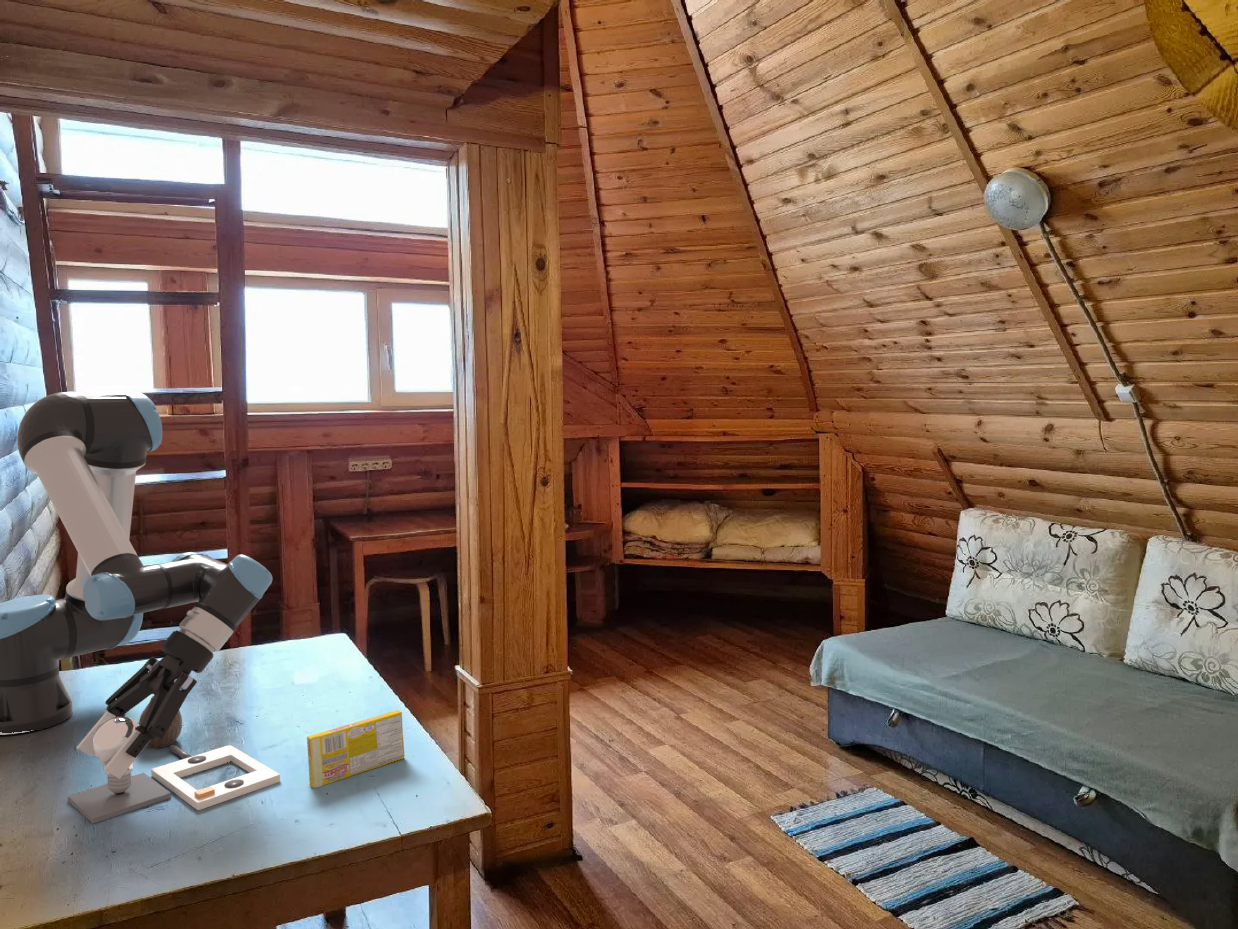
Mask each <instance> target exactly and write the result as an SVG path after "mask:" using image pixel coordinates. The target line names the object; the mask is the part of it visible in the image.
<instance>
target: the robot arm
mask: <svg viewBox="0 0 1238 929" xmlns="http://www.w3.org/2000/svg"><path fill="white" fill-rule="evenodd" d="M16 437H17V441H16V443H17V450H18V454H19V456H20V458H21V461H22V463H23V465H24V466H25V468H26V469H27V471H29V472H30V473H32V474H34V475H37V476H38V478H39V481H40V482H41V484H42V486H43V488H44V489H45V492H46V494H47V496H48V497H49V499H50V501H51V503H52V505H53V507H54V510H55V511H56V513H57V515H58V516H59V518H60V520H61V522H62V524H63V526H64V528H65V530H66V532H67V534H68V536H69V538H70V540H71V541H72V543H73V546H74V547H75V549H76V551H77V561H76V562H77V563H76V574H75V578H73V579H72V580H70V581H69V582H68V584H66V587H65V596H64V598H60V599H59V598H58V599H55V597H54V596H53V595H51V594H45V593H43V594H34V595H30V596H29V595H25V596H21V597H17V598H13V599H10V600H7V601H4V602H3V601H2V602H0V732H2V733H12V732H13V733H14V732H22V731H31V730H38V731H42V730H44V728H45V729H48V728H51V727H54V726H56V725H58V724H61V723H63V722H64V721H66V719H67V720H68V719H70V718H71V717H72V715H73V702H72V699H71V697H70V695H69V693H68V691H67V689H66V687H65V685H64V683H63V680H62V679H61V676H60V661H61V660H64V659H68V658H73V657H77V656H81V655H85V654H90V653H94V652H98V651H101V650H102V651H103V650H110V649H111V650H112V649H114V648H116V647H118V646H122V645H125V644H126V645H127V644H129V642H131V641H133V640H134V639H135V638H136V636H137V635H138V634H139V631H140V630H141V627H142V624H143V618H144V613H147V612H152V611H156V610H162V609H169V608H173V607H174V608H175V607H178V606H183V605H187V604H191V603H195V604H194V607H193V608H192V609H190V610H187V611H186V616H185V617H184V619H183V620H182V621H181V622H180V623H179V624H178V626H179V629H180V630H173V631H172V632H171V633H170V635H168V637H167V638H166V639H165V641H164V642H163V643H162V645H161V646H160V650H161V651H162V652H163V653H165V654H164V655H165V656H163V657H162V658H161V659H160V660H159V659H157V658H156V657H154V656H150V657H149V658H148V659H147V661H146V662H145V663H144V664H143V665H142V667H140V668H139V669H138V671H136V673H134V674H133V675H132V676H131V677H130V678H128V680H127V681H126V682H124V683H123V684H122V685H121V686H120V687H119V688H118V689H117V690H116V691H114V693H113V694H111V695H110V696H109V697H108V698H107V699H106V700H105V701H104V702H105V705H107V707H106V709H105V712H104V713H103V715H102V716H101V717H100V718H99V719H98V720H97V722H96V723H95V724H94V726H92V728H91V729H90V730H89V732H87V734H86V735H85V737H84V738H82V739H81V741H80V742H79V744H77V746H76V747H75V748H76V749H77V750H78V751H81V752H82V753H84V754H86V755H88V756H89V757H92V758H93V757H94V756H95V754H94V751H93V747H92V740H93V736H94V734H95V732H96V730H97V729H98V728H99V726H100V725H102V724H103V723H104V722H105V721H107V720H109V719H111V718H114V717H126V714H127V713H129V712H130V711H131V710H132V709H133V708H135V707H136V706H138V705H139V704H140V703H141V702H143V701H144V700H146V699H147V698H148V697H150V696H151V695H153V696H154V697H153V699H152V701H151V704H150V706H149V708H148V711H147V713H146V715H145V718H144V720H143V722H142V725H140V726H137V727H135V730H134V731H133V733H132V734H131V735H130V736H129V738H128V739H127V740H126V741H125V743H124V744H123V745H122V746H121V748H120V749H119V750H118V751H117V753H116V754H115V755H114V756H113V758H112V759H111V760H110V761H109V762H108V764H107V765H106V766H105V767H104V766H103V771H104V772H105V771H106V772H108V773H110V774H112V775H113V776H115V777H117V778H119V779H120V778H121V777H122V776H123V774H124V773H125V772H126V770H127V769H128V768H129V767H130V765H131V764H132V763H133V762H134V763H135V761H136V759H137V758H138V756H139V755H140V754H141V753H142V752H143V751H144V749H145V747H147V746H148V745H147V744H148V743H149V741H150V740H151V739H152V740H154V739H155V738H159V739H162V738H163V737H164V736H165V734H166V732H167V731H168V729H169V727H170V725H171V723H172V722H173V720H174V718H175V716H176V715H177V713H178V711H180V709H181V708H182V706H183V704H184V702H185V700H186V698H187V697H188V695H189V693H190V692H191V691H192V690H193V688H194V687H195V686H196V685H197V681H198V680H196V679H195V678H193V677H192V676H190V675H191V673H192V672H194V673H196V674H200V673H202V672H203V671H204V669H205V668H206V667H207V666H208V665H209V664H210V662H211V661H212V660H213V659H214V656H215V655H214V652H219V651H221V648H222V647H223V646H224V645H225V643H227V641H229V638H230V637H231V636H232V635H233V634H234V631H235V630H236V629H237V628H238V627H239V625H241V623H242V622H243V621H244V620H245V618H246V617H247V616H248V614H249V613H250V612H251V611H252V610H253V608H254V607H255V606H256V604H258V602H259V601H260V600H261V599H263V596H264V594H265V592H266V591H267V590H268V588H269V587H270V586H271V585H272V582H273V575H272V573H271V572H270V571H269V570H268V569H267V568H266V567H265V566H264V565H262V564H261V563H260V562H258V561H256V560H255V559H253V558H252V557H250V556H248V555H245V554H238V555H236V556H235V557H234V558H233V559H232V560H231V561H229V562H228V563H225V562H223V561H220V560H218V559H216V558H213V557H211V556H209V555H208V554H204V553H198V552H194V551H193V552H192V551H189V552H183V553H181V554H180V555H178V556H176V557H175V558H173V559H172V560H171V561H170V562H163V563H156V564H151V565H144V564H143V562H142V560H140V557H139V556H138V554H137V552H136V550H135V549H134V548H135V547H133V545H132V543H131V541H130V537H131V536H130V534H131V526H132V516H133V508H134V507H133V505H134V496H135V486H136V485H135V484H136V475H137V471H138V470H139V469H141V468H142V467H144V466H145V465H146V464H147V463H146V462H147V455H148V454H147V453H148V452H153V451H155V450H157V449H158V448H159V447H160V445H161V444H162V441H163V423H162V419H161V415H160V413H159V411H158V409H157V406H156V405H155V404H154V402H153V401H152V399H151V398H150V397H148V396H147V395H146V394H143V393H142V392H139V391H137V392H136V391H135V392H134V391H123V390H117V391H85V392H84V391H80V392H72V391H61V392H55V393H52V394H48V395H46V396H44V397H42V398H40V399H39V400H37V401H36V402H34V403H33V404H32V405H31V406H30V407H29V409H27V410H26V412H25V413H24V415H23V417H22V419H21V420H20V423H19V426H18V430H17V436H16ZM161 727H162V728H161ZM160 728H161V729H160ZM136 730H137V731H136ZM139 732H140V733H139Z"/></svg>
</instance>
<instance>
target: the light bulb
mask: <svg viewBox="0 0 1238 929" xmlns="http://www.w3.org/2000/svg"><path fill="white" fill-rule="evenodd" d="M137 726H140V725H139V722H137V721H136V720H135V719H133V718H131V717H129V716H125V717H114V718H111V719H109V720H107V721H105V722H104V723H103V724H102V725H100V726H99V728H98V729H97V730H96V732H95V734H94V736H93V740H92V747H93V751H94V756H96V758H97V759H98V761H99V762H100V763H101V764H102V766H103V768H104V767H105V766H106V765H107V764H108V762H109V761H110V760H111V759H112V758H113V756H114V755H115V754H116V753H117V751H118V750H119V749H120V748H121V746H122V745H123V744H124V743H125V741H126V740H127V739H128V738H129V736H130V735H131V734H132V733H133V731H134V730H135V727H137ZM136 731H137V730H136ZM139 733H140V732H139ZM134 764H135V761H134V762H133V763H132V764H131V765H130V767H129V768H128V769H127V770H126V772H125V773H124V774H123V776H122V777H121V778H120V779H119V778H117V777H115V776H113V775H112V774H110V773H108V772H106V771H105V770H104V772H105V775H106V776H107V777H106V780H107V781H106V784H108V785H107V787H108V788H109V790H110V791H111V792H113V793H115V794H117V795H119V794H123V793H124V792H125V791H126V790H127V789H128V788H129V787H130V786H131V784H132V782H131V780H132V778H131V776H133V775H132V773H131V772H133V769H134Z"/></svg>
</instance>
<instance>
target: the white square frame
mask: <svg viewBox="0 0 1238 929" xmlns="http://www.w3.org/2000/svg"><path fill="white" fill-rule="evenodd" d="M169 747H170V748H169V750H170V751H171V752H172V753H173V754H176V756H178V757H180V758H181V759H180V760H176V761H173V762H170V763H166V764H163V765H160V766H156V767H153V768H151V769H150V772H151V773H150V774H151V778H152V779H155V780H156V782H159V784H160V783H161V784H162V786H163V787H166V788H167V790H169V791H170V792H172V793H174V794H175V795H176V796H177V797H179V798H180V799H182V801H185V802H186V803H187V804H189V805H190V806H191V807H193V808H194V809H195V810H197V811H200V810H203V809H206V808H210V807H213V806H214V805H217V804H220V803H224V802H227V801H229V800H232V799H234V798H238V797H240V796H243V795H246V794H249V793H252V792H254V791H258V790H261V789H263V788H267V787H269V786H272V785H274V784H278V783H281V774H280V773H278V772H277V771H275V770H274V769H272V768H270V767H268V766H266V765H265V764H263V763H262V762H259V761H258V760H256V759H255V758H253V757H251V756H250V755H248V754H246V753H245V752H243V751H241V750H239V749H238V748H236V747H234V746H233V745H230V744H229V745H225V746H221V747H219V748H215V749H212V750H208V751H206V752H202V753H199V754H196V755H193V756H192V755H191V754H189V753H187V752H186V751H185V750H183V749H181V748H179V747H178V746H177V745H175V744H171V745H170V746H169ZM230 761H232V762H230ZM227 762H228V763H233V764H235V765H236V766H238V767H240V768H241V769H243V770H244V771H246V772H247V773H246V774H243V775H242V774H241V775H240V776H237V777H234V778H231V779H228V780H225V781H222V782H219V783H216V784H213V785H209V786H207V787H203V788H200V789H197V788H195V787H193V786H192V785H190V784H189V783H188V782H186V781H185V780H183V779H182V778H184V777H187V776H190V775H193V773H194V774H198V773H199V772H203V771H205V770H209V769H212V768H215V767H218V766H221V765H225V764H228V763H227Z"/></svg>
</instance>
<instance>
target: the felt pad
mask: <svg viewBox="0 0 1238 929" xmlns="http://www.w3.org/2000/svg"><path fill="white" fill-rule="evenodd" d="M131 778H132V780H131V782H132V784H131V786H130V787H129V788H128V789H127V790H126V791H125V792H124V793H123V794H119V795H117V794H115V793H113V792H111V791H110V790H109V788H108V787H107V785H108V783H106V784H102V785H100V786H95V787H92V788H89V789H85V790H83V791H80V792H76V793H74V794H70V795H67V801H68V803H70V804H71V803H72V804H73V805H74V806H75V807H76V808H77V809H78V810H79V811H80V812H79V811H78V810H77V809H76V808H75V807H74V806H73V805H72V804H71V805H72V806H73V807H74V808H75V809H76V810H77V811H78V812H79V813H81V814H82V816H83V817H84V818H86V820H88V821H89V822H90V823H91V824H93V825H94V824H96V823H100V822H103V821H106V820H109V819H111V818H114V817H118V816H120V815H123V814H126V813H130V812H133V811H136V810H138V809H142V808H144V807H148V806H150V805H153V804H157V803H160V802H162V801H165V800H168V799H171V798H172V793H171V791H170V790H169V789H166V788H165V786H163V785H161V784H160V783H158V781H157V780H156V781H155V780H154V778H153V777H150V776H149V775H147V774H146V773H145V772H141V773H138V774H135V775H132V776H131Z"/></svg>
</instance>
